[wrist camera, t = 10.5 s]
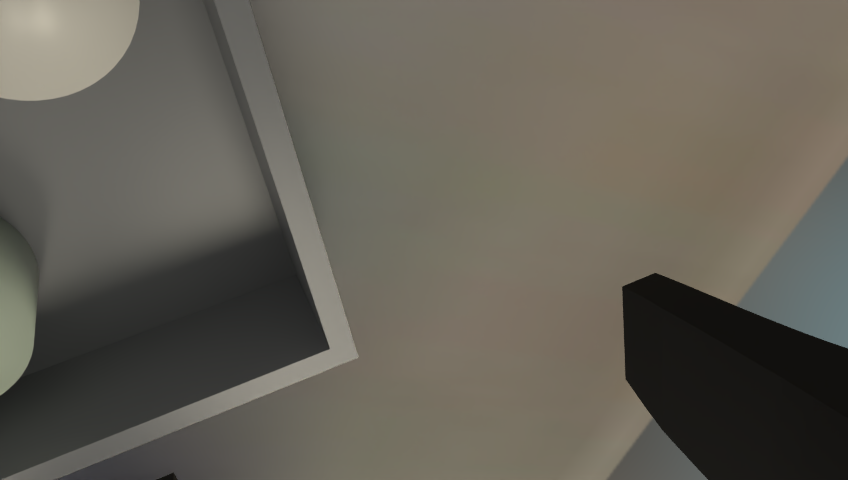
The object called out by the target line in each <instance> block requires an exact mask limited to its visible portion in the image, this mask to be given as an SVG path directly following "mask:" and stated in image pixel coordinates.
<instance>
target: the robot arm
mask: <svg viewBox="0 0 848 480" xmlns="http://www.w3.org/2000/svg"><path fill="white" fill-rule="evenodd" d="M622 291H623V319H624V347H625V375H626V380H627V381H628V383H629V384H630V386H631V387H632V389H633V390H634V391H635V393H636V394H637V396H638V397H639V399H640V400H641V402H642V403H643V404H644V406H645V407H646V409H647V410H648V411H649V413H650V414H651V415H652V417H653V418H654V419H655V420H656V422H657V423H658V425H659V426H660V427H661V429H662V430H663V431H664V432H665V433H666V434H667V435H668V437H669V438H670V439H671V440H672V441H673V442H674V443H675V444H676V445H677V447H678V448H680V450H681V451H682V452H683V453H684V454H685V455H686V456H687V457H688V459H689V460H690V461H691V462H692V463H693V464H694V465H695V466H696V467H697V468H698V469H699V470H700V471H701V473H702V474H703V475H705V477H706V478H707V479H708V480H848V349H847V348H845V347H841V346H839V345H836V344H833V343H830V342H827V341H824V340H822V339H819V338H816V337H813V336H810V335H808V334H805V333H803V332H800V331H797V330H795V329H792V328H789V327H787V326H784V325H782V324H779V323H776V322H774V321H772V320H769V319H767V318H764V317H761V316H759V315H757V314H754V313H752V312H749V311H747V310H744V309H742V308H740V307H737V306H735V305H732V304H730V303H728V302H725V301H723V300H720V299H718V298H716V297H713V296H711V295H708V294H706V293H704V292H701V291H699V290H697V289H694V288H692V287H689V286H687V285H684V284H682V283H680V282H677V281H675V280H672V279H670V278H667V277H665V276H662V275H659V274H657V273H654V274H652V275H649V276H647V277H644V278H642V279H639V280H637V281H635V282H632V283H630V284H627V285H625V286H623V287H622ZM157 480H177V478H176V476H175V474H174V473H171V474H169V475H167V476H164V477H162V478H159V479H157Z"/></svg>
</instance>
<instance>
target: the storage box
mask: <svg viewBox="0 0 848 480" xmlns="http://www.w3.org/2000/svg"><path fill="white" fill-rule="evenodd" d="M356 358H359V357H358V354H357V351H356V347H355V344H354V341H353V338H352V334H351V331H350V328H349V325H348V321H347V318H346V315H345V311H344V308H343V305H342V302H341V298H340V295H339V292H338V289H337V285H336V282H335V279H334V276H333V272H332V269H331V266H330V263H329V259H328V256H327V253H326V250H325V246H324V243H323V240H322V236H321V233H320V230H319V227H318V223H317V220H316V217H315V214H314V210H313V207H312V204H311V201H310V197H309V194H308V191H307V188H306V184H305V181H304V178H303V174H302V171H301V168H300V165H299V161H298V158H297V155H296V152H295V148H294V145H293V142H292V139H291V135H290V132H289V129H288V126H287V122H286V119H285V116H284V112H283V109H282V106H281V103H280V99H279V96H278V93H277V90H276V86H275V83H274V80H273V77H272V73H271V70H270V67H269V64H268V60H267V57H266V54H265V50H264V47H263V44H262V41H261V37H260V34H259V31H258V28H257V24H256V21H255V18H254V15H253V11H252V8H251V5H250V2H249V0H0V480H56V479H59V478H61V477H64V476H66V475H69V474H71V473H73V472H76V471H78V470H81V469H83V468H86V467H88V466H91V465H93V464H96V463H98V462H101V461H103V460H106V459H108V458H111V457H113V456H116V455H118V454H121V453H123V452H126V451H128V450H131V449H133V448H136V447H138V446H140V445H143V444H145V443H148V442H150V441H153V440H155V439H158V438H160V437H163V436H165V435H168V434H170V433H173V432H175V431H178V430H180V429H183V428H185V427H188V426H190V425H193V424H195V423H198V422H200V421H203V420H205V419H207V418H210V417H212V416H215V415H217V414H220V413H222V412H225V411H227V410H230V409H232V408H235V407H237V406H240V405H242V404H245V403H247V402H250V401H252V400H255V399H257V398H260V397H262V396H265V395H267V394H270V393H272V392H274V391H277V390H279V389H282V388H284V387H287V386H289V385H292V384H294V383H297V382H299V381H302V380H304V379H307V378H309V377H312V376H314V375H317V374H319V373H322V372H324V371H327V370H329V369H332V368H334V367H337V366H339V365H341V364H344V363H346V362H349V361H351V360H354V359H356Z"/></svg>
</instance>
